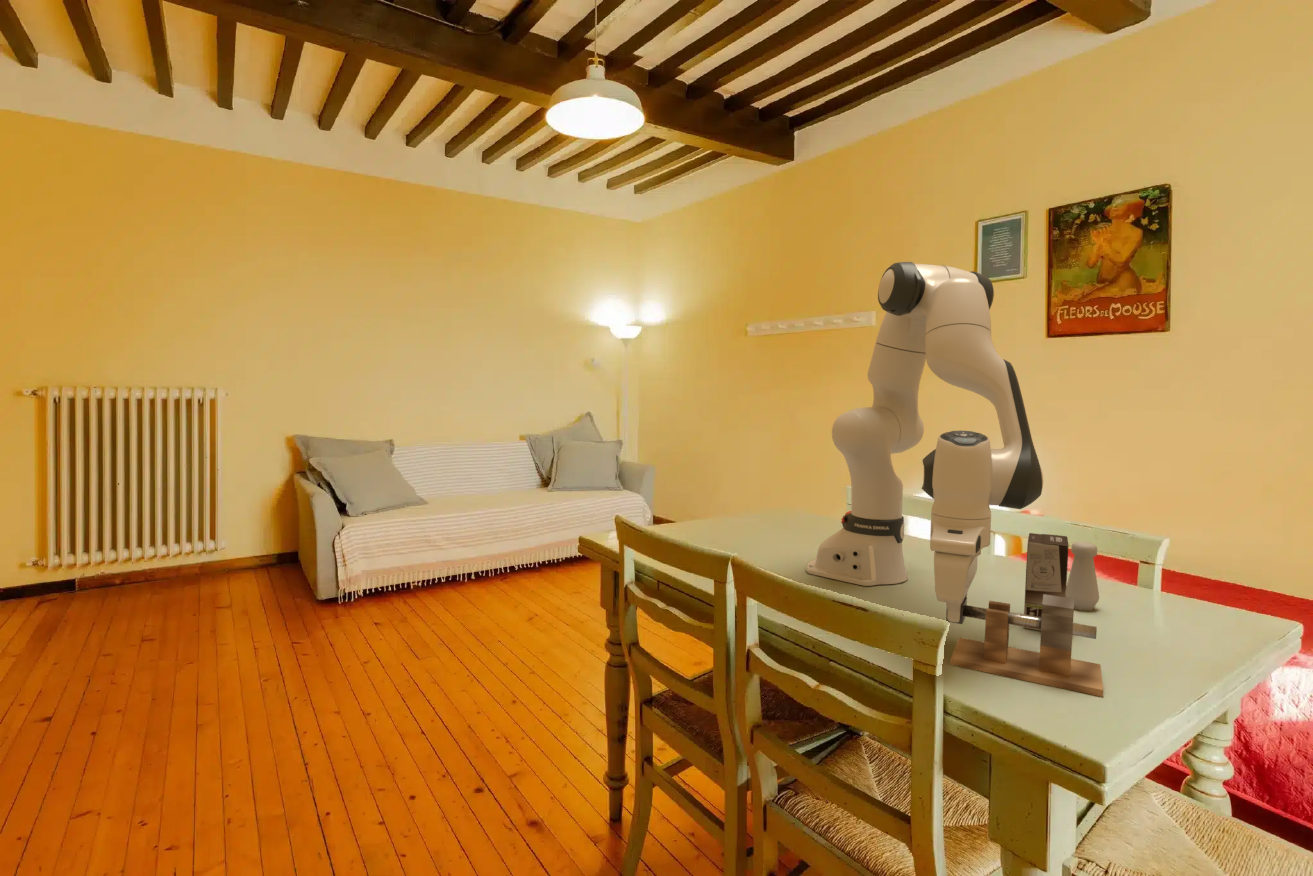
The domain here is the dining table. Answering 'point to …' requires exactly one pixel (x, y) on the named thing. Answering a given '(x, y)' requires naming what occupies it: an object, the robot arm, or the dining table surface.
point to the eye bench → (1028, 665)
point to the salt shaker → (1083, 577)
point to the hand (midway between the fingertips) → (956, 614)
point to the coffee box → (1045, 570)
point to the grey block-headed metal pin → (1021, 620)
